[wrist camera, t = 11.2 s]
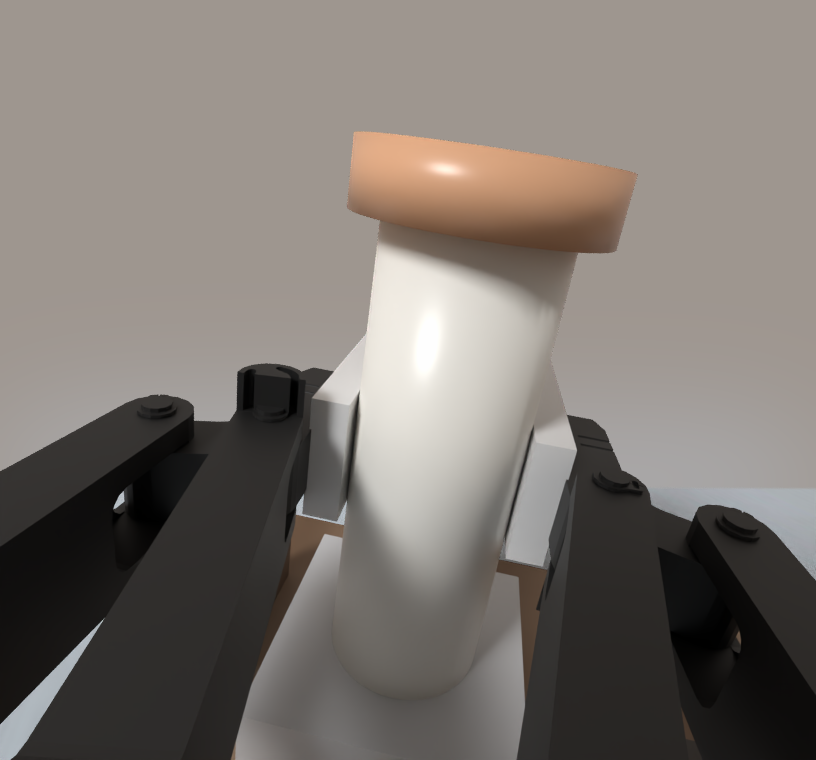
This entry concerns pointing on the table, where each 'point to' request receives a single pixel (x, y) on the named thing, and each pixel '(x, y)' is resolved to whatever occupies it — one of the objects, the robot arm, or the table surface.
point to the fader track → (530, 578)
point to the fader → (434, 458)
